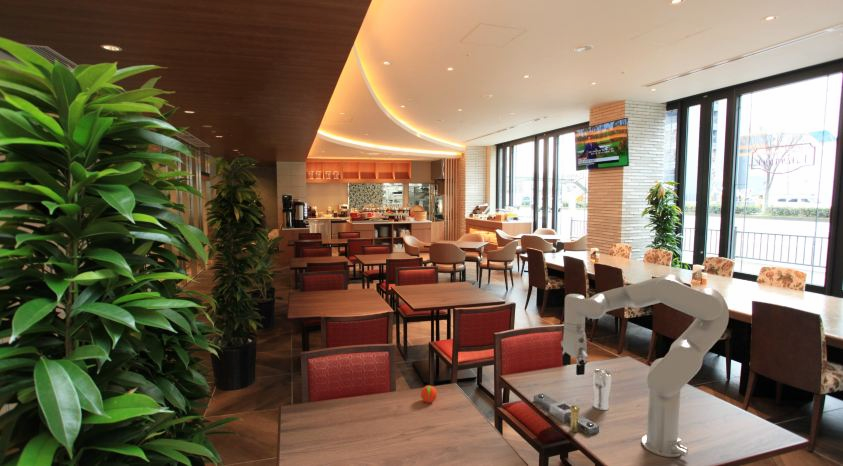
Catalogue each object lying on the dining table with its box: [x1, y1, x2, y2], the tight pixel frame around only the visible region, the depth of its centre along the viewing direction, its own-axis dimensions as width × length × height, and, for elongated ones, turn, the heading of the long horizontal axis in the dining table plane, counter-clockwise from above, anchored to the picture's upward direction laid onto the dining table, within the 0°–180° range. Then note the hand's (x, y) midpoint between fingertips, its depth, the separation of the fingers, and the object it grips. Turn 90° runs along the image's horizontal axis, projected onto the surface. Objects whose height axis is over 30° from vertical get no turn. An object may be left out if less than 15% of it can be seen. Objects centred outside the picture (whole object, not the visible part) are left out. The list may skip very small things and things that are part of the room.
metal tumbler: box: [592, 368, 612, 411], centre depth 181 cm, size 7×7×15 cm
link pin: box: [569, 405, 581, 434], centre depth 163 cm, size 3×3×9 cm
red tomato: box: [420, 384, 438, 404], centre depth 186 cm, size 8×7×7 cm
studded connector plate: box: [533, 393, 600, 436], centre depth 174 cm, size 30×8×4 cm, turn 27°
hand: (573, 369), depth 168 cm, fingers open, 9 cm apart
